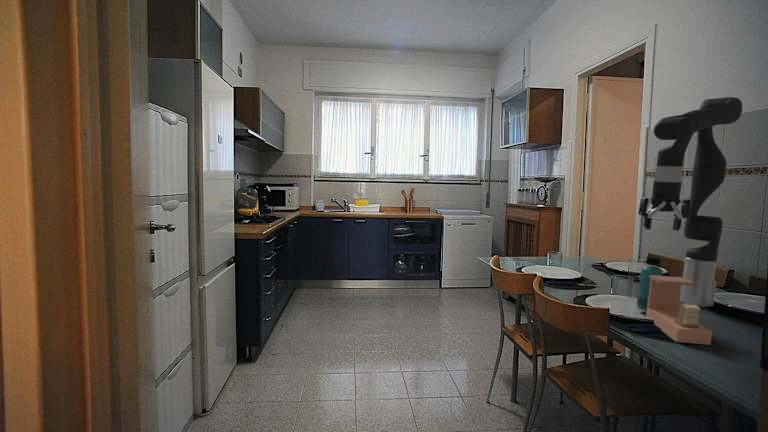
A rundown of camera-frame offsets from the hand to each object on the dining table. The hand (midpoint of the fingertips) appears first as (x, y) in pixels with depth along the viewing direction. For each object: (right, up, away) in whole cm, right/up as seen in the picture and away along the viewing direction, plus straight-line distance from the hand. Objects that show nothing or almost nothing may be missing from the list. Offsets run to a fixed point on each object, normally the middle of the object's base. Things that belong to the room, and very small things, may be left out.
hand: (661, 229), depth 131 cm
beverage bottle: (0, -29, +8) cm, 30 cm away
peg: (-1, -32, -12) cm, 34 cm away
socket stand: (-1, -31, -7) cm, 32 cm away
